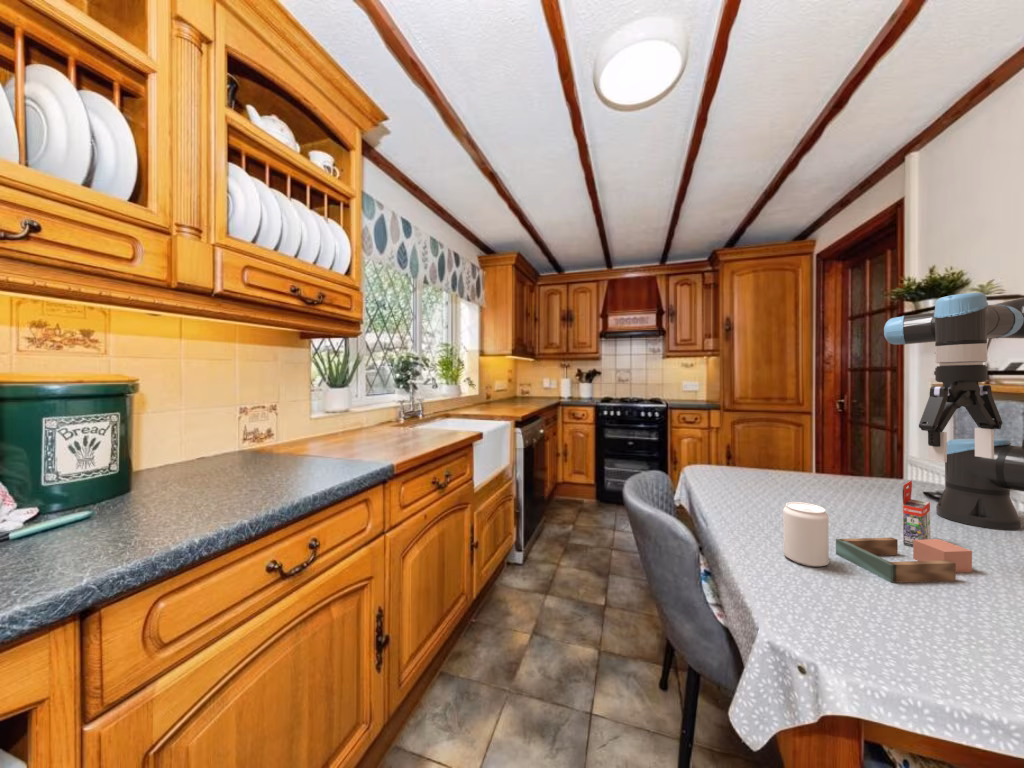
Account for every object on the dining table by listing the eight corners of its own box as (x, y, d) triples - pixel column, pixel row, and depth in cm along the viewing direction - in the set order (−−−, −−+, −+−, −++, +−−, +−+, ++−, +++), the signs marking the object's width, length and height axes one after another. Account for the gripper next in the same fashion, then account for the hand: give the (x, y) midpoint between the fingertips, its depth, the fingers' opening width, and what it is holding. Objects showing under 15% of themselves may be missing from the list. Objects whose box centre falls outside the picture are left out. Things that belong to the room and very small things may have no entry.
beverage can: (819, 554, 88) (819, 503, 88) (835, 571, 81) (835, 514, 81) (778, 549, 91) (778, 499, 91) (790, 565, 83) (790, 511, 83)
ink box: (931, 541, 94) (931, 483, 94) (923, 550, 90) (923, 488, 90) (910, 536, 97) (910, 479, 97) (902, 544, 93) (901, 485, 93)
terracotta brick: (939, 558, 86) (938, 539, 86) (971, 572, 80) (971, 551, 80) (913, 559, 86) (913, 539, 86) (944, 573, 80) (944, 551, 80)
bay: (892, 552, 89) (892, 537, 89) (955, 580, 76) (955, 563, 76) (835, 554, 88) (835, 539, 88) (890, 582, 76) (890, 565, 76)
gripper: (979, 364, 91) (980, 452, 91) (895, 366, 86) (897, 459, 87) (1027, 362, 83) (1027, 459, 84) (938, 364, 79) (939, 466, 79)
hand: (961, 459), depth 85 cm, fingers open, 13 cm apart
